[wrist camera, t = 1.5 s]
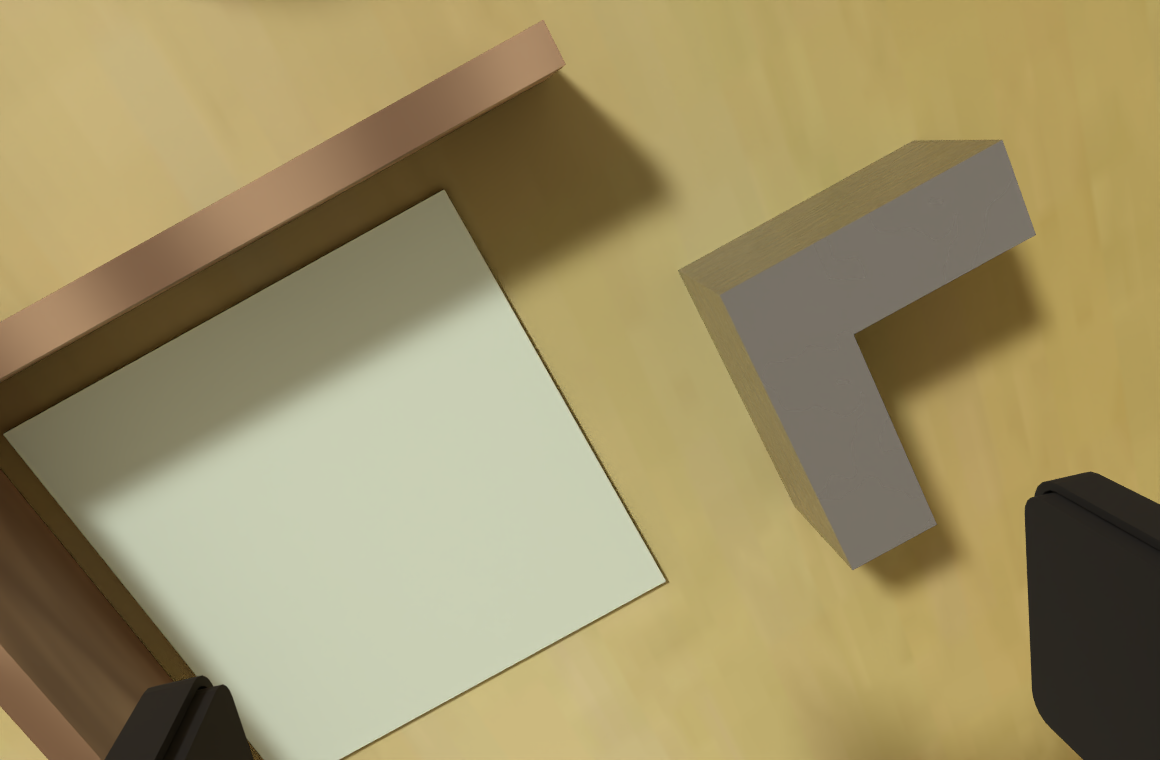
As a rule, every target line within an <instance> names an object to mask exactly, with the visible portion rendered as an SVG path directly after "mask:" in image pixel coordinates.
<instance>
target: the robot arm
mask: <svg viewBox="0 0 1160 760" xmlns="http://www.w3.org/2000/svg"><path fill="white" fill-rule="evenodd" d="M1025 532H1026V556H1027V579H1028V603H1029V627H1030V651H1031V675H1032V692H1033V698H1034V701H1035V705H1036V707H1037V709H1038V711H1039V713H1040V715H1041V716H1042V718H1043V720H1044V721H1045V722H1046V723H1047V724H1048V726H1049V727H1050V728H1051V729H1052V730H1053V731H1054V732H1055V733H1056V734H1057V735H1059V736H1060V737H1061V738H1062V739H1063V740H1064V741H1065V742H1066V743H1067V744H1068V745H1069V746H1070V747H1071V748H1072V749H1073V750H1074V751H1075V752H1076V753H1077V754H1078V755H1079V756H1080V757H1081V758H1082V759H1083V760H1160V504H1158V503H1156V502H1154V501H1152V500H1150V499H1148V498H1146V497H1144V496H1142V495H1140V494H1138V493H1136V492H1134V491H1132V490H1130V489H1128V488H1126V487H1124V486H1122V485H1120V484H1118V483H1116V482H1114V481H1112V480H1110V479H1108V478H1106V477H1104V476H1102V475H1100V474H1097V473H1094V472H1086V473H1081V474H1077V475H1072V476H1068V477H1064V478H1059V479H1055V480H1051V481H1046V482H1042V483H1041V484H1040V485H1039V486H1038V487H1037V490H1036V492H1035V497H1032V498H1030V499H1029V500H1028V501H1027V503H1026V505H1025ZM104 760H254V759H253V756H252V753H251V750H250V747H249V744H248V741H247V738H246V735H245V732H244V729H243V726H242V723H241V720H240V717H239V714H238V711H237V708H236V705H235V702H234V700H233V697H232V694H231V692H230V690H229V689H228V687H227V686H226V685H223V684H222V685H218V686H213V685H212V683H211V682H210V680H209V679H208V678H207V677H205V676H203V675H202V676H197V677H193V678H189V679H184V680H180V681H175V682H171V683H167V684H162V685H158V686H154V687H150V688H148V689H147V690H146V691H145V692H144V693H143V695H142V696H141V698H140V700H139V702H138V703H137V705H136V707H135V708H134V710H133V712H132V713H131V715H130V717H129V719H128V720H127V722H126V724H125V725H124V727H123V729H122V731H121V732H120V734H119V736H118V737H117V739H116V741H115V742H114V744H113V746H112V748H111V749H110V751H109V753H108V754H107V756H106V758H105V759H104Z"/></svg>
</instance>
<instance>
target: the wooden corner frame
mask: <svg viewBox="0 0 1160 760" xmlns="http://www.w3.org/2000/svg"><path fill="white" fill-rule="evenodd" d="M564 65H566V64H565V62H564V60H563V58H562V56H561V54H560V52H559V50H558V48H557V46H556V44H555V42H554V40H553V38H552V36H551V34H550V32H549V30H548V28H547V26H546V24H545V22H544V20H542V21H540V22H538V23H537V24H535V25H533V26H531V27H529V28H528V29H526V30H524V31H522V32H520V33H519V34H517V35H515V36H513V37H511V38H510V39H508V40H506V41H504V42H502V43H501V44H499V45H497V46H495V47H494V48H492V49H490V50H488V51H486V52H485V53H483V54H481V55H479V56H477V57H476V58H474V59H472V60H470V61H468V62H467V63H465V64H463V65H461V66H459V67H458V68H456V69H454V70H452V71H450V72H449V73H447V74H445V75H443V76H441V77H440V78H438V79H436V80H434V81H432V82H431V83H429V84H427V85H425V86H423V87H422V88H420V89H418V90H416V91H414V92H413V93H411V94H409V95H407V96H405V97H404V98H402V99H400V100H398V101H396V102H395V103H393V104H391V105H389V106H387V107H386V108H384V109H382V110H380V111H379V112H377V113H375V114H373V115H371V116H370V117H368V118H366V119H364V120H362V121H361V122H359V123H357V124H355V125H353V126H352V127H350V128H348V129H346V130H344V131H343V132H341V133H339V134H337V135H335V136H334V137H332V138H330V139H328V140H326V141H325V142H323V143H321V144H319V145H317V146H316V147H314V148H312V149H310V150H308V151H307V152H305V153H303V154H301V155H299V156H298V157H296V158H294V159H292V160H290V161H289V162H287V163H285V164H283V165H281V166H280V167H278V168H276V169H274V170H272V171H271V172H269V173H267V174H265V175H264V176H262V177H260V178H258V179H256V180H255V181H253V182H251V183H249V184H247V185H246V186H244V187H242V188H240V189H238V190H237V191H235V192H233V193H231V194H229V195H228V196H226V197H224V198H222V199H220V200H219V201H217V202H215V203H213V204H211V205H210V206H208V207H206V208H204V209H202V210H201V211H199V212H197V213H195V214H193V215H192V216H190V217H188V218H186V219H184V220H183V221H181V222H179V223H177V224H175V225H174V226H172V227H170V228H168V229H166V230H165V231H163V232H161V233H159V234H157V235H156V236H154V237H152V238H150V239H149V240H147V241H145V242H143V243H141V244H140V245H138V246H136V247H134V248H132V249H131V250H129V251H127V252H125V253H123V254H122V255H120V256H118V257H116V258H114V259H113V260H111V261H109V262H107V263H105V264H104V265H102V266H100V267H98V268H96V269H95V270H93V271H91V272H89V273H87V274H86V275H84V276H82V277H80V278H78V279H77V280H75V281H73V282H71V283H69V284H68V285H66V286H64V287H62V288H60V289H59V290H57V291H55V292H53V293H51V294H50V295H48V296H46V297H44V298H42V299H41V300H39V301H37V302H35V303H34V304H32V305H30V306H28V307H26V308H25V309H23V310H21V311H19V312H17V313H16V314H14V315H12V316H10V317H8V318H7V319H5V320H3V321H1V322H0V383H1V382H2V381H4V380H6V379H8V378H10V377H11V376H13V375H15V374H17V373H19V372H21V371H22V370H24V369H26V368H28V367H30V366H31V365H33V364H35V363H37V362H39V361H40V360H42V359H44V358H46V357H48V356H49V355H51V354H53V353H55V352H57V351H58V350H60V349H62V348H64V347H66V346H67V345H69V344H71V343H73V342H75V341H76V340H78V339H80V338H82V337H84V336H85V335H87V334H89V333H91V332H93V331H94V330H96V329H98V328H100V327H102V326H103V325H105V324H107V323H109V322H111V321H112V320H114V319H116V318H118V317H120V316H121V315H123V314H125V313H127V312H129V311H130V310H132V309H134V308H136V307H138V306H139V305H141V304H143V303H145V302H147V301H148V300H150V299H152V298H154V297H156V296H157V295H159V294H161V293H163V292H165V291H166V290H168V289H170V288H172V287H174V286H175V285H177V284H179V283H181V282H183V281H184V280H186V279H188V278H190V277H192V276H193V275H195V274H197V273H199V272H201V271H202V270H204V269H206V268H208V267H210V266H211V265H213V264H215V263H217V262H219V261H220V260H222V259H224V258H226V257H228V256H229V255H231V254H233V253H235V252H237V251H238V250H240V249H242V248H244V247H246V246H247V245H249V244H251V243H253V242H255V241H256V240H258V239H260V238H262V237H264V236H265V235H267V234H269V233H271V232H273V231H274V230H276V229H278V228H280V227H282V226H283V225H285V224H287V223H289V222H291V221H292V220H294V219H296V218H298V217H300V216H301V215H303V214H305V213H307V212H309V211H310V210H312V209H314V208H316V207H318V206H319V205H321V204H323V203H325V202H327V201H328V200H330V199H332V198H334V197H336V196H337V195H339V194H341V193H343V192H345V191H346V190H348V189H350V188H352V187H354V186H355V185H357V184H359V183H361V182H363V181H364V180H366V179H368V178H370V177H372V176H373V175H375V174H377V173H379V172H381V171H382V170H384V169H386V168H388V167H390V166H391V165H393V164H395V163H397V162H399V161H400V160H402V159H404V158H406V157H408V156H409V155H411V154H413V153H415V152H417V151H418V150H420V149H422V148H424V147H426V146H427V145H429V144H431V143H433V142H435V141H436V140H438V139H440V138H442V137H444V136H445V135H447V134H449V133H451V132H453V131H454V130H456V129H458V128H460V127H462V126H463V125H465V124H467V123H469V122H471V121H472V120H474V119H476V118H478V117H480V116H481V115H483V114H485V113H487V112H489V111H490V110H492V109H494V108H496V107H498V106H499V105H501V104H503V103H505V102H507V101H508V100H510V99H512V98H514V97H516V96H517V95H519V94H521V93H523V92H525V91H526V90H528V89H530V88H532V87H534V86H535V85H537V84H539V83H541V82H543V81H544V80H546V79H548V78H549V77H550V76H552V75H553V74H554V73H556V72H557V71H558V70H559V69H561V68H562V67H563V66H564ZM171 682H173V680H172V679H171V678H170V677H169V676H168V674H167V673H166V672H165V671H164V669H163V668H162V667H161V666H160V664H159V663H158V662H157V661H156V660H155V658H154V657H153V656H152V655H151V653H150V652H149V651H148V650H147V649H146V647H145V646H144V645H143V644H142V642H141V641H140V640H139V639H138V637H137V636H136V635H135V634H134V633H133V631H132V630H131V629H130V628H129V626H128V625H127V624H126V623H125V621H124V620H123V619H122V618H121V617H120V615H119V614H118V613H117V612H116V610H115V609H114V608H113V607H112V606H111V604H110V603H109V602H108V601H107V599H106V598H105V597H104V596H103V594H102V593H101V592H100V591H99V590H98V588H97V587H96V586H95V585H94V583H93V582H92V581H91V580H90V578H89V577H88V576H87V575H86V574H85V572H84V571H83V570H82V569H81V567H80V566H79V565H78V564H77V563H76V561H75V560H74V559H73V558H72V556H71V555H70V554H69V553H68V551H67V550H66V549H65V548H64V547H63V545H62V544H61V543H60V542H59V540H58V539H57V538H56V537H55V536H54V534H53V533H52V532H51V531H50V529H49V528H48V527H47V526H46V524H45V523H44V522H43V521H42V520H41V518H40V517H39V516H38V515H37V513H36V512H35V511H34V510H33V508H32V507H31V506H30V505H29V504H28V502H27V501H26V500H25V499H24V497H23V496H22V495H21V494H20V493H19V491H18V490H17V489H16V488H15V486H14V485H13V484H12V483H11V481H10V480H9V479H8V478H7V477H6V475H5V474H4V473H3V472H2V470H1V469H0V706H1V707H2V709H3V710H4V711H5V712H6V713H7V714H8V715H9V716H10V717H11V719H12V720H13V721H14V722H15V723H16V724H17V725H18V726H19V727H20V728H21V730H22V731H23V732H24V733H25V734H26V735H27V736H28V737H29V738H30V740H31V741H32V742H33V743H34V744H35V745H36V746H37V747H38V748H39V750H40V751H41V752H42V753H43V754H44V755H45V756H46V757H47V758H48V760H104V759H105V758H106V756H107V754H108V753H109V751H110V749H111V748H112V746H113V744H114V742H115V741H116V739H117V737H118V736H119V734H120V732H121V731H122V729H123V727H124V725H125V724H126V722H127V720H128V719H129V717H130V715H131V713H132V712H133V710H134V708H135V707H136V705H137V703H138V702H139V700H140V698H141V696H142V695H143V693H144V692H145V691H146V690H147V689H148V688H150V687H154V686H158V685H162V684H167V683H171Z"/></svg>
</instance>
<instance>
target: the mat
mask: <svg viewBox="0 0 1160 760" xmlns="http://www.w3.org/2000/svg"><path fill="white" fill-rule="evenodd" d="M3 435H4V436H5V438H6V439H7V440H8V441H9V443H10V444H11V445H12V446H13V448H14V449H15V450H16V451H17V453H18V454H19V455H20V456H21V458H22V459H23V460H24V461H25V463H26V464H27V465H28V466H29V468H30V469H31V470H32V471H33V473H34V474H35V475H36V476H37V478H38V479H39V480H40V481H41V483H42V484H43V485H44V486H45V488H46V489H47V490H48V491H49V493H50V494H51V495H52V496H53V498H54V499H55V500H56V501H57V503H58V504H59V505H60V506H61V508H62V509H63V510H64V511H65V513H66V514H67V515H68V516H69V517H70V519H71V520H72V521H73V522H74V524H75V525H76V526H77V527H78V529H79V530H80V531H81V532H82V534H83V535H84V536H85V537H86V539H87V540H88V541H89V542H90V544H91V545H92V546H93V547H94V549H95V550H96V551H97V552H98V554H99V555H100V556H101V557H102V559H103V560H104V561H105V562H106V564H107V565H108V566H109V567H110V569H111V570H112V571H113V572H114V574H115V575H116V576H117V577H118V579H119V580H120V581H121V582H122V584H123V585H124V586H125V587H126V589H127V590H128V591H129V592H130V594H131V595H132V596H133V597H134V599H135V600H136V601H137V602H138V604H139V605H140V606H141V607H142V609H143V610H144V611H145V612H146V614H147V615H148V616H149V617H150V619H151V620H152V621H153V622H154V624H155V625H156V626H157V627H158V629H159V630H160V631H161V632H162V634H163V635H164V636H165V637H166V639H167V640H168V641H169V642H170V643H171V645H172V646H173V647H174V648H175V650H176V651H177V652H178V653H179V655H180V656H181V657H182V658H183V660H184V661H185V662H186V663H187V665H188V666H189V667H190V668H191V670H192V671H193V672H194V673H195V675H196V676H202V675H203V676H205V677H207V678H208V679H209V680H210V682H211V683H212V685H213V686H218V685H222V684H223V685H226V686H227V687H228V689H229V690H230V692H231V694H232V697H233V700H234V702H235V705H236V708H237V711H238V714H239V717H240V720H241V723H242V726H243V729H244V732H245V735H246V738H247V740H248V741H249V742H250V743H251V745H252V746H253V747H254V748H255V750H256V751H257V752H258V753H259V755H260V756H261V757H262V758H263V760H339V759H341V758H343V757H345V756H347V755H349V754H350V753H352V752H354V751H356V750H358V749H360V748H361V747H363V746H365V745H367V744H369V743H371V742H372V741H374V740H376V739H378V738H380V737H382V736H383V735H385V734H387V733H389V732H391V731H393V730H394V729H396V728H398V727H400V726H402V725H404V724H405V723H407V722H409V721H411V720H413V719H415V718H416V717H418V716H420V715H422V714H424V713H426V712H427V711H429V710H431V709H433V708H435V707H437V706H438V705H440V704H442V703H444V702H446V701H448V700H449V699H451V698H453V697H455V696H457V695H459V694H460V693H462V692H464V691H466V690H468V689H470V688H471V687H473V686H475V685H477V684H479V683H481V682H482V681H484V680H486V679H488V678H490V677H492V676H493V675H495V674H497V673H499V672H501V671H503V670H504V669H506V668H508V667H510V666H512V665H513V664H515V663H517V662H519V661H521V660H523V659H524V658H526V657H528V656H530V655H532V654H534V653H535V652H537V651H539V650H541V649H543V648H545V647H546V646H548V645H550V644H552V643H554V642H556V641H557V640H559V639H561V638H563V637H565V636H567V635H568V634H570V633H572V632H574V631H576V630H578V629H579V628H581V627H583V626H585V625H587V624H589V623H590V622H592V621H594V620H596V619H598V618H600V617H601V616H603V615H605V614H607V613H609V612H611V611H612V610H614V609H616V608H618V607H620V606H622V605H623V604H625V603H627V602H629V601H631V600H633V599H634V598H636V597H638V596H640V595H642V594H644V593H645V592H647V591H649V590H651V589H653V588H655V587H656V586H658V585H660V584H662V583H664V582H666V580H665V578H664V577H663V575H662V573H661V571H660V569H659V568H658V566H657V564H656V562H655V561H654V559H653V557H652V555H651V554H650V552H649V550H648V548H647V546H646V545H645V543H644V541H643V539H642V538H641V536H640V534H639V532H638V531H637V529H636V527H635V525H634V524H633V522H632V520H631V518H630V516H629V515H628V513H627V511H626V509H625V508H624V506H623V504H622V502H621V501H620V499H619V497H618V495H617V493H616V492H615V490H614V488H613V486H612V485H611V483H610V481H609V479H608V478H607V476H606V474H605V472H604V471H603V469H602V467H601V465H600V463H599V462H598V460H597V458H596V456H595V455H594V453H593V451H592V449H591V448H590V446H589V444H588V442H587V441H586V439H585V437H584V435H583V433H582V432H581V430H580V428H579V426H578V425H577V423H576V421H575V419H574V418H573V416H572V414H571V412H570V410H569V409H568V407H567V405H566V403H565V402H564V400H563V398H562V396H561V395H560V393H559V391H558V389H557V388H556V386H555V384H554V382H553V380H552V379H551V377H550V375H549V373H548V372H547V370H546V368H545V366H544V365H543V363H542V361H541V359H540V357H539V356H538V354H537V352H536V350H535V349H534V347H533V345H532V343H531V342H530V340H529V338H528V336H527V335H526V333H525V331H524V329H523V327H522V326H521V324H520V322H519V320H518V319H517V317H516V315H515V313H514V312H513V310H512V308H511V306H510V305H509V303H508V301H507V299H506V297H505V296H504V294H503V292H502V290H501V289H500V287H499V285H498V283H497V282H496V280H495V278H494V276H493V274H492V273H491V271H490V269H489V267H488V266H487V264H486V262H485V260H484V259H483V257H482V255H481V253H480V252H479V250H478V248H477V246H476V244H475V243H474V241H473V239H472V237H471V236H470V234H469V232H468V230H467V229H466V227H465V225H464V223H463V221H462V220H461V218H460V216H459V214H458V213H457V211H456V209H455V207H454V206H453V204H452V202H451V200H450V199H449V197H448V195H447V193H446V191H445V190H442V191H440V192H438V193H437V194H435V195H433V196H431V197H429V198H427V199H426V200H424V201H422V202H420V203H418V204H417V205H415V206H413V207H411V208H409V209H408V210H406V211H404V212H402V213H400V214H399V215H397V216H395V217H393V218H391V219H390V220H388V221H386V222H384V223H382V224H381V225H379V226H377V227H375V228H373V229H372V230H370V231H368V232H366V233H364V234H363V235H361V236H359V237H357V238H355V239H354V240H352V241H350V242H348V243H346V244H345V245H343V246H341V247H339V248H337V249H336V250H334V251H332V252H330V253H328V254H327V255H325V256H323V257H321V258H319V259H318V260H316V261H314V262H312V263H310V264H308V265H307V266H305V267H303V268H301V269H299V270H298V271H296V272H294V273H292V274H290V275H289V276H287V277H285V278H283V279H281V280H280V281H278V282H276V283H274V284H272V285H271V286H269V287H267V288H265V289H263V290H262V291H260V292H258V293H256V294H254V295H253V296H251V297H249V298H247V299H245V300H244V301H242V302H240V303H238V304H236V305H235V306H233V307H231V308H229V309H227V310H226V311H224V312H222V313H220V314H218V315H217V316H215V317H213V318H211V319H209V320H208V321H206V322H204V323H202V324H200V325H198V326H197V327H195V328H193V329H191V330H189V331H188V332H186V333H184V334H182V335H180V336H179V337H177V338H175V339H173V340H171V341H170V342H168V343H166V344H164V345H162V346H161V347H159V348H157V349H155V350H153V351H152V352H150V353H148V354H146V355H144V356H143V357H141V358H139V359H137V360H135V361H134V362H132V363H130V364H128V365H126V366H125V367H123V368H121V369H119V370H117V371H116V372H114V373H112V374H110V375H108V376H107V377H105V378H103V379H101V380H99V381H98V382H96V383H94V384H92V385H90V386H89V387H87V388H85V389H83V390H81V391H79V392H78V393H76V394H74V395H72V396H70V397H69V398H67V399H65V400H63V401H61V402H60V403H58V404H56V405H54V406H52V407H51V408H49V409H47V410H45V411H43V412H42V413H40V414H38V415H36V416H34V417H33V418H31V419H29V420H27V421H25V422H24V423H22V424H20V425H18V426H16V427H15V428H13V429H11V430H9V431H7V432H6V433H4V434H3Z"/></svg>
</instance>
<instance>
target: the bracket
mask: <svg viewBox="0 0 1160 760" xmlns="http://www.w3.org/2000/svg"><path fill="white" fill-rule="evenodd" d="M1035 235H1036V234H1035V231H1034V228H1033V225H1032V222H1031V220H1030V217H1029V214H1028V211H1027V208H1026V206H1025V203H1024V200H1023V197H1022V194H1021V191H1020V189H1019V186H1018V183H1017V180H1016V177H1015V174H1014V172H1013V169H1012V166H1011V163H1010V160H1009V157H1008V155H1007V152H1006V149H1005V146H1004V143H1003V141H1002V140H930V141H912V142H911V143H909V144H907V145H905V146H903V147H901V148H900V149H898V150H896V151H894V152H892V153H891V154H889V155H887V156H885V157H883V158H881V159H880V160H878V161H876V162H874V163H872V164H871V165H869V166H867V167H865V168H863V169H861V170H860V171H858V172H856V173H854V174H852V175H851V176H849V177H847V178H845V179H843V180H841V181H840V182H838V183H836V184H834V185H832V186H831V187H829V188H827V189H825V190H823V191H821V192H820V193H818V194H816V195H814V196H812V197H811V198H809V199H807V200H805V201H803V202H802V203H800V204H798V205H796V206H794V207H792V208H791V209H789V210H787V211H785V212H783V213H782V214H780V215H778V216H776V217H774V218H772V219H771V220H769V221H767V222H765V223H763V224H762V225H760V226H758V227H756V228H754V229H752V230H751V231H749V232H747V233H745V234H743V235H742V236H740V237H738V238H736V239H734V240H732V241H731V242H729V243H727V244H725V245H723V246H722V247H720V248H718V249H716V250H714V251H712V252H711V253H709V254H707V255H705V256H703V257H702V258H700V259H698V260H696V261H694V262H693V263H691V264H689V265H687V266H685V267H683V268H682V269H680V270H678V271H679V273H680V275H681V277H682V279H683V281H684V284H685V286H686V288H687V290H688V292H689V294H690V296H691V298H692V300H693V302H694V304H695V306H696V308H697V310H698V312H699V314H700V316H701V318H702V320H703V322H704V324H705V326H706V328H707V330H708V332H709V334H710V336H711V338H712V340H713V342H714V344H715V346H716V348H717V350H718V352H719V354H720V356H721V358H722V360H723V362H724V364H725V366H726V368H727V370H728V373H729V375H730V377H731V379H732V381H733V383H734V385H735V387H736V389H737V391H738V393H739V395H740V397H741V399H742V401H743V403H744V405H745V407H746V409H747V411H748V413H749V415H750V417H751V419H752V421H753V423H754V425H755V427H756V429H757V431H758V433H759V435H760V437H761V439H762V441H763V443H764V445H765V447H766V449H767V451H768V453H769V455H770V457H771V459H772V462H773V464H774V466H775V468H776V470H777V472H778V474H779V476H780V478H781V480H782V482H783V484H784V486H785V488H786V490H787V492H788V494H789V496H790V498H791V500H792V502H793V504H794V506H795V507H796V509H797V510H798V511H799V512H800V513H801V514H802V515H803V516H804V517H805V518H806V520H807V521H808V522H809V523H810V524H811V525H812V526H813V527H814V528H815V529H816V531H817V532H818V533H819V534H820V535H821V536H822V537H823V538H824V539H825V540H826V542H827V543H828V544H829V545H830V546H831V547H832V548H833V549H834V550H835V551H836V552H837V554H838V555H839V556H840V557H841V558H842V559H843V560H844V561H845V562H846V563H847V565H848V566H849V567H850V568H851V569H852V570H854V569H856V568H858V567H860V566H861V565H863V564H865V563H867V562H869V561H871V560H872V559H874V558H876V557H878V556H880V555H882V554H883V553H885V552H887V551H889V550H891V549H893V548H895V547H896V546H898V545H900V544H902V543H904V542H906V541H907V540H909V539H911V538H913V537H915V536H917V535H919V534H920V533H922V532H924V531H926V530H928V529H930V528H931V527H933V526H935V525H937V524H936V522H935V519H934V517H933V515H932V512H931V510H930V508H929V506H928V503H927V501H926V499H925V496H924V494H923V492H922V490H921V487H920V485H919V483H918V481H917V478H916V476H915V474H914V471H913V469H912V467H911V465H910V462H909V460H908V458H907V455H906V453H905V451H904V449H903V446H902V444H901V442H900V439H899V437H898V435H897V433H896V430H895V428H894V426H893V424H892V421H891V419H890V417H889V414H888V412H887V410H886V408H885V405H884V403H883V401H882V398H881V396H880V394H879V392H878V389H877V387H876V385H875V382H874V380H873V378H872V376H871V373H870V371H869V369H868V367H867V364H866V362H865V360H864V357H863V355H862V353H861V351H860V348H859V346H858V344H857V341H856V339H855V337H854V334H855V333H857V332H859V331H861V330H863V329H865V328H866V327H868V326H870V325H872V324H874V323H876V322H877V321H879V320H881V319H883V318H885V317H887V316H888V315H890V314H892V313H894V312H896V311H897V310H899V309H901V308H903V307H905V306H907V305H908V304H910V303H912V302H914V301H916V300H918V299H919V298H921V297H923V296H925V295H927V294H929V293H930V292H932V291H934V290H936V289H938V288H940V287H941V286H943V285H945V284H947V283H949V282H950V281H952V280H954V279H956V278H958V277H960V276H961V275H963V274H965V273H967V272H969V271H971V270H972V269H974V268H976V267H978V266H980V265H982V264H983V263H985V262H987V261H989V260H991V259H993V258H994V257H996V256H998V255H1000V254H1002V253H1003V252H1005V251H1007V250H1009V249H1011V248H1013V247H1014V246H1016V245H1018V244H1020V243H1022V242H1024V241H1025V240H1027V239H1029V238H1031V237H1033V236H1035Z"/></svg>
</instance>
